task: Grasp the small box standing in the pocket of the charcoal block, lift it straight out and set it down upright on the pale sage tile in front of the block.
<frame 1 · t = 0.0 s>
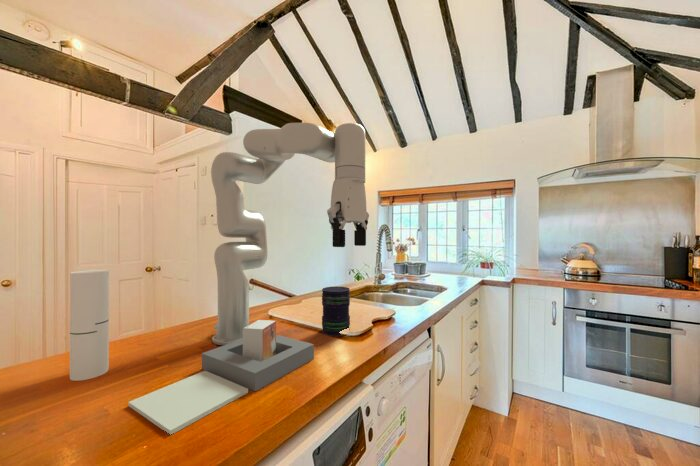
hand: (350, 246, 72), 31 cm above the countertop, tool pointing down, fingers open, 9 cm apart
small box: (260, 364, 78), resting in pocket block
storage jar: (335, 332, 104), on the countertop
pocket block: (260, 363, 78), on the countertop
sage tile: (190, 398, 61), on the countertop
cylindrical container: (89, 374, 72), on the countertop
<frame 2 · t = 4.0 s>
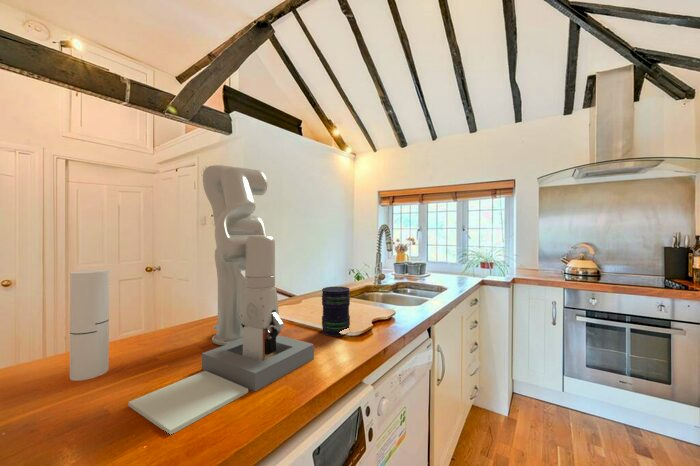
hand: (260, 349, 78), 4 cm above the countertop, tool pointing down, fingers closed on small box, 7 cm apart
small box: (260, 364, 78), resting in pocket block, touching gripper
everything else where it was.
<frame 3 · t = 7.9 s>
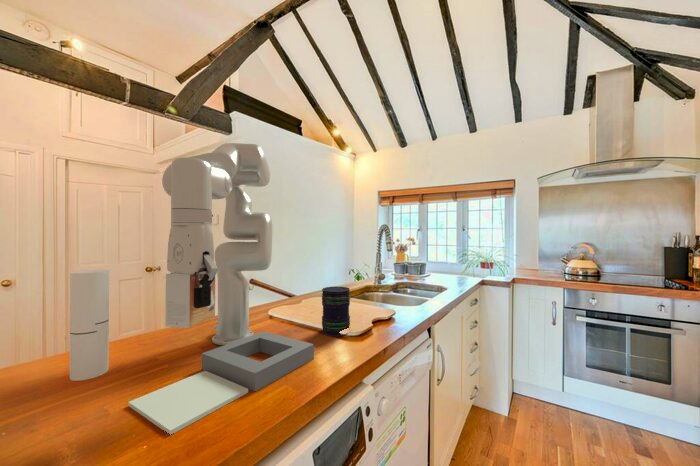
hand: (191, 303, 61), 20 cm above the countertop, tool pointing down, fingers closed on small box, 7 cm apart
small box: (191, 323, 61), point 16 cm above the countertop, touching gripper
everything else where it was.
when the fingers open (6 cm above the countertop, at t = 12.0 s): small box drops 1 cm, resting on sage tile.
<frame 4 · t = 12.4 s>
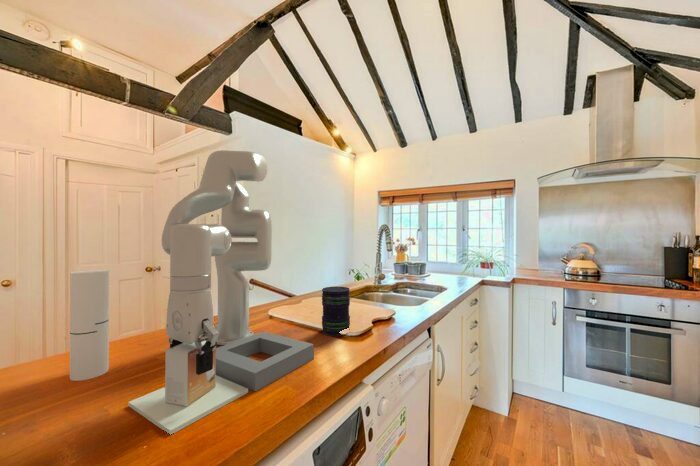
hand: (190, 366, 61), 7 cm above the countertop, tool pointing down, fingers open, 9 cm apart
small box: (191, 395, 61), point 1 cm above the countertop, touching sage tile
everything else where it was.
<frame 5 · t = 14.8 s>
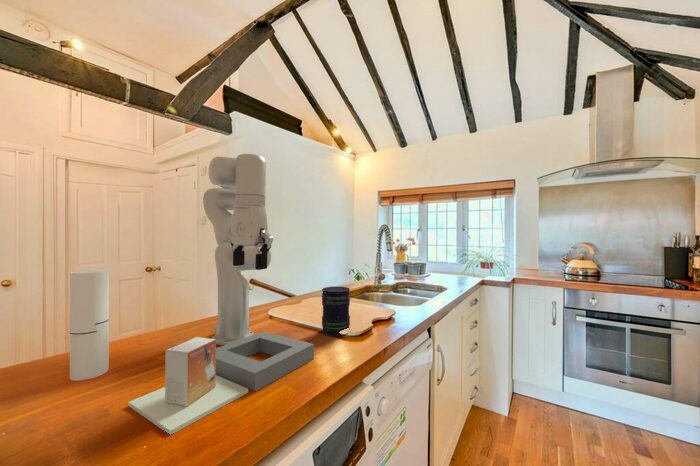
hand: (249, 267, 78), 25 cm above the countertop, tool pointing down, fingers open, 9 cm apart
nothing on the countertop moved.
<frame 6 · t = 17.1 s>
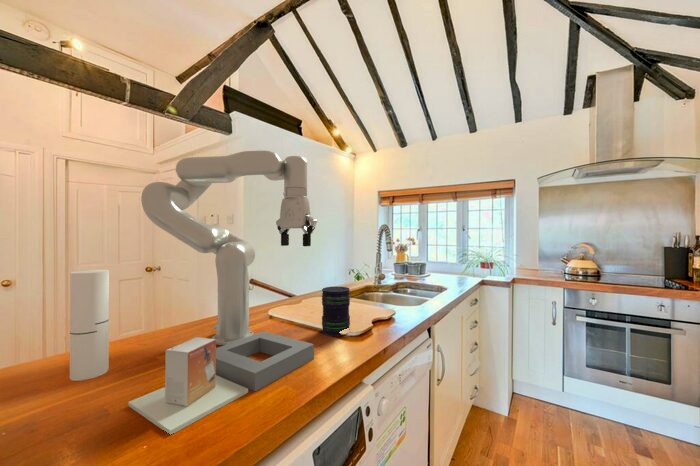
hand: (295, 245, 98), 30 cm above the countertop, tool pointing down, fingers open, 9 cm apart
nothing on the countertop moved.
at the end: small box inside the target area on the sage tile (0.2 cm from its centre), point 0.6 cm above the sage tile's base; small box tilted 0°; the gripper is holding nothing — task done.
